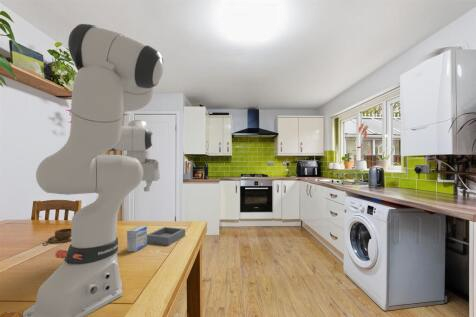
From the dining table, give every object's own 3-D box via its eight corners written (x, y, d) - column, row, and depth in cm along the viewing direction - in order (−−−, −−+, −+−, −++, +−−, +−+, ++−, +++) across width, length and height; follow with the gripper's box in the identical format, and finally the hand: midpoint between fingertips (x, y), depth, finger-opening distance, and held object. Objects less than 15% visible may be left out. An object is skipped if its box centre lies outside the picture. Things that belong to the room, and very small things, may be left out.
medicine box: (136, 252, 97) (136, 231, 98) (126, 251, 98) (126, 230, 98) (147, 245, 105) (147, 226, 105) (138, 244, 106) (138, 225, 106)
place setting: (80, 233, 123) (80, 222, 123) (97, 241, 111) (97, 229, 111) (37, 242, 109) (37, 230, 110) (51, 253, 97) (51, 239, 97)
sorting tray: (185, 235, 118) (185, 228, 118) (168, 245, 105) (168, 237, 105) (164, 233, 122) (164, 226, 122) (146, 242, 109) (146, 234, 109)
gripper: (162, 159, 102) (162, 191, 102) (124, 158, 108) (124, 188, 108) (153, 158, 96) (153, 193, 96) (113, 158, 102) (113, 190, 102)
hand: (137, 190), depth 102 cm, fingers open, 8 cm apart
